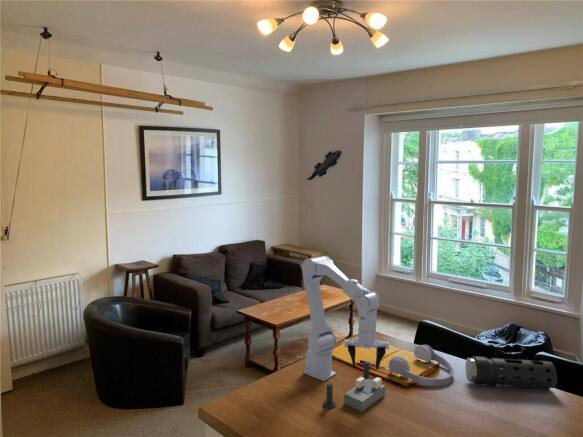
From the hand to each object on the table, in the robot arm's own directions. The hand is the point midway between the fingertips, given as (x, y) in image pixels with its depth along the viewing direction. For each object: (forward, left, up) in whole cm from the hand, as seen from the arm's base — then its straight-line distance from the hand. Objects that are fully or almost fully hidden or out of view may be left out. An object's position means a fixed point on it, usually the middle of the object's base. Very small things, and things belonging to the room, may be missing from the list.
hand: (365, 367), depth 146 cm
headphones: (+8, +30, -11) cm, 33 cm away
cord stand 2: (-5, +9, -10) cm, 15 cm away
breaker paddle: (-1, -2, -6) cm, 6 cm away
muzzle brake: (+34, +41, -11) cm, 54 cm away
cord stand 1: (-5, -13, -10) cm, 17 cm away
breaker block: (+1, -2, -10) cm, 10 cm away
